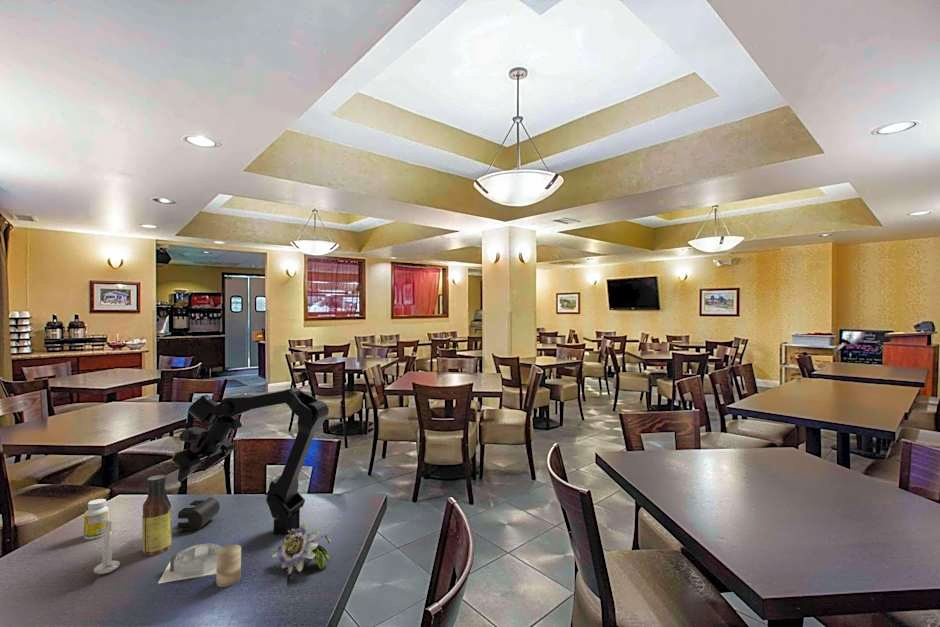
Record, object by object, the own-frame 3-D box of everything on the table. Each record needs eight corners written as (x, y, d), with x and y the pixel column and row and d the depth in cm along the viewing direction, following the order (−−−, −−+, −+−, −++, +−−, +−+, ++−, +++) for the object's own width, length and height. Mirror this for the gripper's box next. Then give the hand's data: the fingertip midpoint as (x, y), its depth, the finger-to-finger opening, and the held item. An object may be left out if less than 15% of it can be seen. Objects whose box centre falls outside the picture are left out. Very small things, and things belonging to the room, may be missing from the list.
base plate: (233, 553, 117) (233, 549, 117) (226, 576, 106) (226, 571, 106) (171, 563, 112) (171, 559, 112) (157, 587, 101) (157, 583, 101)
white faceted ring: (223, 552, 115) (223, 540, 115) (216, 572, 106) (216, 559, 106) (176, 559, 112) (176, 547, 112) (165, 580, 103) (165, 567, 103)
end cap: (202, 534, 127) (202, 510, 127) (176, 534, 127) (177, 510, 127) (219, 518, 137) (220, 496, 137) (196, 519, 137) (196, 497, 137)
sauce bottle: (176, 549, 118) (178, 474, 119) (153, 561, 113) (155, 482, 113) (159, 545, 121) (160, 471, 121) (135, 556, 115) (137, 479, 115)
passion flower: (290, 596, 108) (260, 557, 107) (311, 563, 118) (283, 528, 117) (324, 575, 105) (294, 536, 105) (342, 544, 116) (315, 508, 115)
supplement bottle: (104, 538, 124) (105, 503, 125) (80, 541, 122) (81, 506, 123) (111, 529, 129) (111, 496, 130) (88, 532, 127) (89, 499, 127)
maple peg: (242, 576, 106) (242, 543, 106) (239, 588, 101) (239, 553, 102) (218, 580, 104) (219, 546, 105) (214, 593, 100) (214, 557, 100)
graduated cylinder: (124, 569, 109) (109, 580, 104) (103, 570, 108) (88, 581, 104) (125, 516, 109) (111, 525, 104) (104, 516, 109) (89, 525, 104)
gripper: (219, 410, 142) (194, 450, 143) (172, 424, 123) (144, 469, 124) (245, 431, 140) (220, 471, 141) (202, 447, 122) (173, 493, 123)
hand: (191, 475), depth 132 cm, fingers open, 9 cm apart
